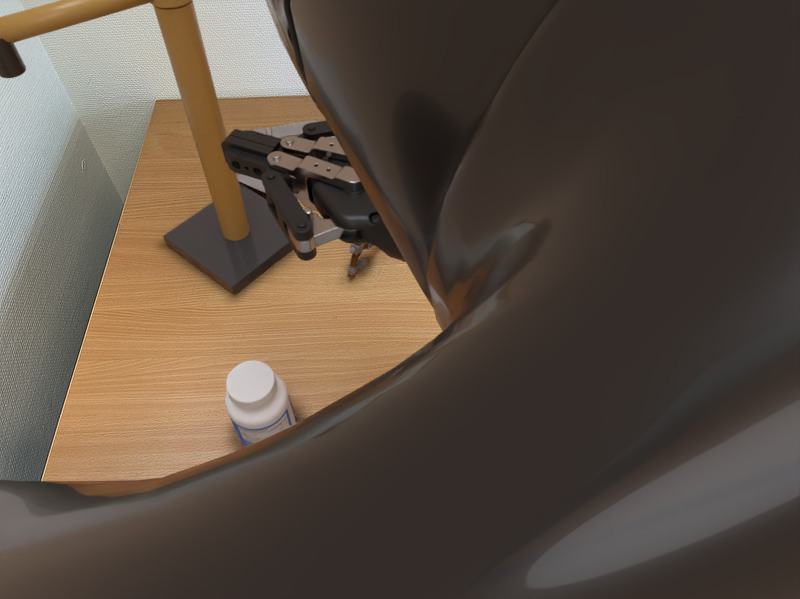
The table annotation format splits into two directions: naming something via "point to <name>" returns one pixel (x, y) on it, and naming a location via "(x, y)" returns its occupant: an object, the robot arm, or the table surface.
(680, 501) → the robot arm
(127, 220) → the table surface
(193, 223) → the pole stand
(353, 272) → the brown grey jointed piece
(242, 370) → the pill bottle
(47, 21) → the spout
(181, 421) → the table surface
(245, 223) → the stand pole
